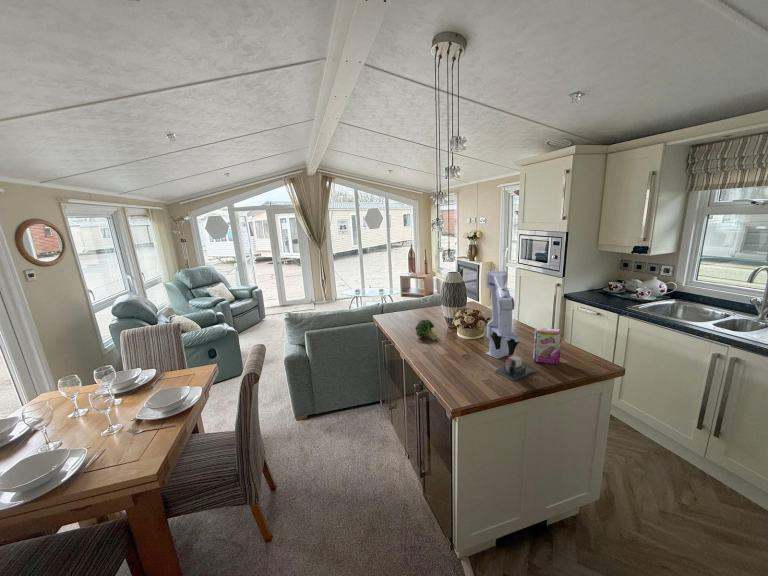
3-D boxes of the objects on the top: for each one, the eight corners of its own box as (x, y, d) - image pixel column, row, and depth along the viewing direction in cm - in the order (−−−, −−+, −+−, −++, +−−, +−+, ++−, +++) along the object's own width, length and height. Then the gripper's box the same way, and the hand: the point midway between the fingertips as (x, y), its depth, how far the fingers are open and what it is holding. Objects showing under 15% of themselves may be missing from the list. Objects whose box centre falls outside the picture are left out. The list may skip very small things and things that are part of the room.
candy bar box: (534, 362, 152) (535, 330, 149) (532, 358, 157) (534, 327, 153) (559, 364, 148) (562, 332, 145) (557, 360, 153) (560, 328, 150)
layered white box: (514, 367, 146) (514, 355, 145) (521, 370, 143) (522, 358, 142) (507, 369, 144) (507, 357, 143) (514, 373, 141) (515, 361, 140)
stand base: (516, 364, 151) (516, 350, 150) (534, 372, 143) (535, 358, 141) (495, 372, 145) (495, 357, 144) (513, 381, 136) (513, 366, 135)
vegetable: (425, 341, 180) (409, 325, 189) (430, 349, 191) (414, 333, 199) (440, 327, 182) (423, 312, 191) (444, 335, 192) (427, 321, 201)
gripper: (486, 321, 145) (486, 348, 148) (512, 329, 132) (511, 359, 135) (497, 318, 148) (496, 345, 151) (523, 326, 135) (522, 355, 138)
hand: (504, 351), depth 143 cm, fingers open, 7 cm apart
